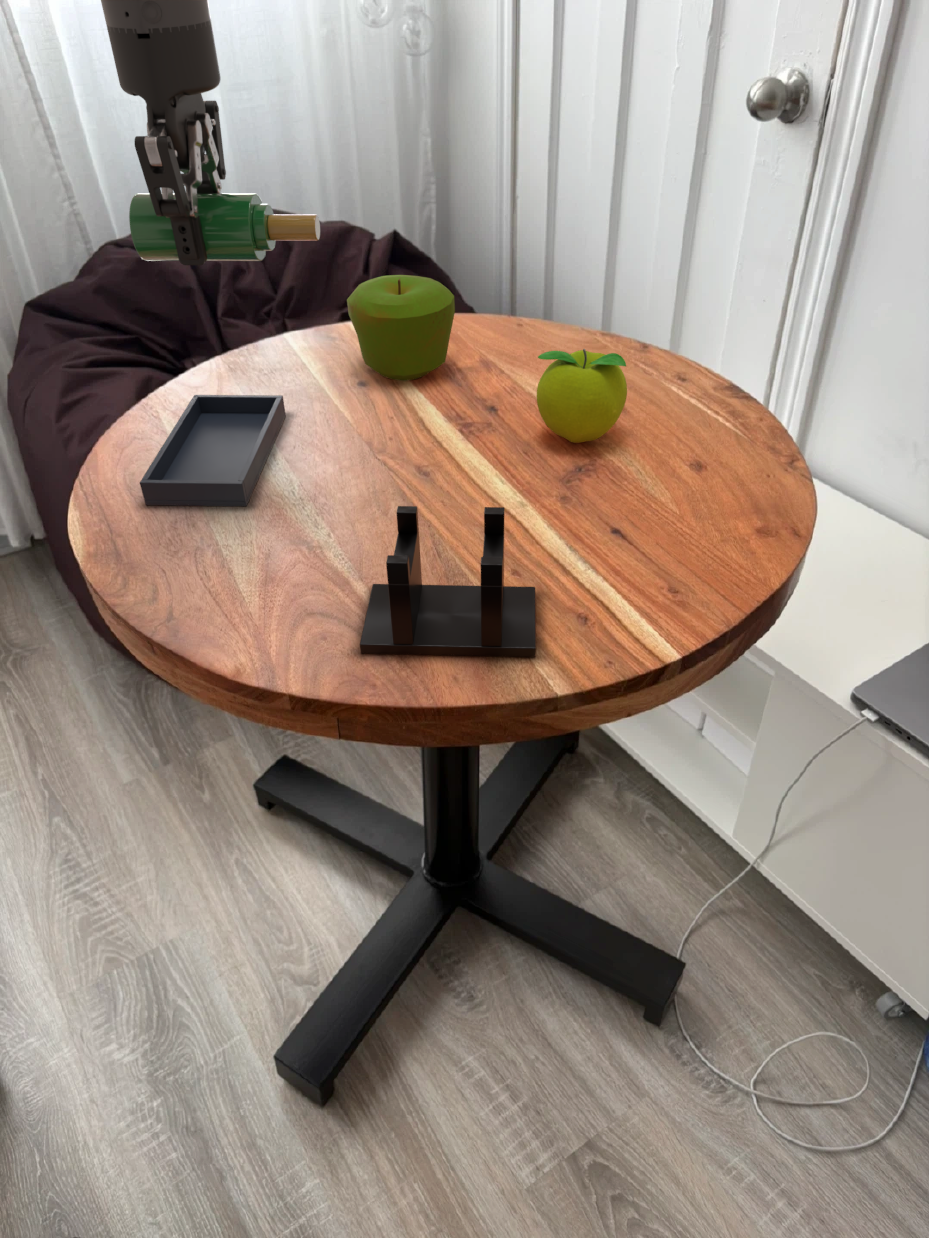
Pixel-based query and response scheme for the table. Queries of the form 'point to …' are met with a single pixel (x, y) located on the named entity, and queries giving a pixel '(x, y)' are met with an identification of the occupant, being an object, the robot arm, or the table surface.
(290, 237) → the green bottle
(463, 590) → the rack
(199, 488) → the tray
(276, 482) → the table surface
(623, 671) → the table surface
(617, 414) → the fruit
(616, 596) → the table surface
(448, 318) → the apple
